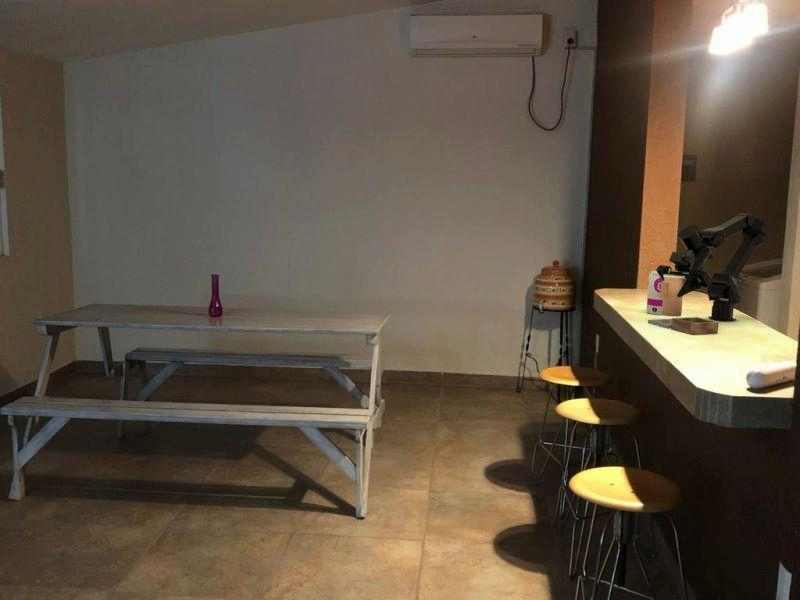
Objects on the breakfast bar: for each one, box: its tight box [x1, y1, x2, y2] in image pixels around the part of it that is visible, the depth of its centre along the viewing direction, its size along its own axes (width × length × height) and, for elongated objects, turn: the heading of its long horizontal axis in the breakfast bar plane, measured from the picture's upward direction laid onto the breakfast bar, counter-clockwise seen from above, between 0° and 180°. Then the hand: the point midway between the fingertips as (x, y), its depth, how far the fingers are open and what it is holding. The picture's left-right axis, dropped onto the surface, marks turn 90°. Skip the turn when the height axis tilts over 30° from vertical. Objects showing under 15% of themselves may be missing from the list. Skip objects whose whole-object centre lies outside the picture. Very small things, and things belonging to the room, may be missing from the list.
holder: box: [670, 316, 719, 336], centre depth 240 cm, size 10×10×4 cm
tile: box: [647, 318, 672, 329], centre depth 251 cm, size 10×10×1 cm
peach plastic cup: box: [660, 274, 686, 318], centre depth 249 cm, size 9×7×13 cm
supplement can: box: [646, 270, 664, 316], centre depth 273 cm, size 8×8×15 cm
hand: (670, 295), depth 249 cm, fingers closed on peach plastic cup, 6 cm apart
